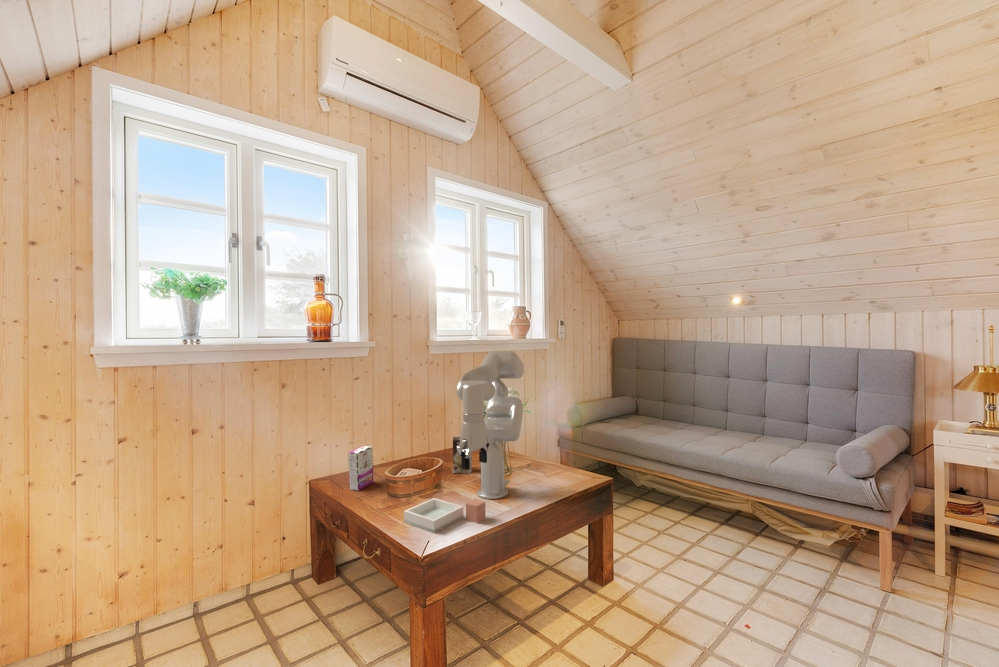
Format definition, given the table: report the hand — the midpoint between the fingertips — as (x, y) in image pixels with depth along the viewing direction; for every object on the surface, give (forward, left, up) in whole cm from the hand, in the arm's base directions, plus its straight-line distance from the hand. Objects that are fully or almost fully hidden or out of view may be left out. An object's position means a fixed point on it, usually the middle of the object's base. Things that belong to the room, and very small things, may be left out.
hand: (474, 465), depth 160 cm
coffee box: (-38, -40, -20) cm, 59 cm away
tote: (+9, -12, -19) cm, 24 cm away
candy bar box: (+2, -64, -20) cm, 67 cm away
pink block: (0, 0, -19) cm, 19 cm away
